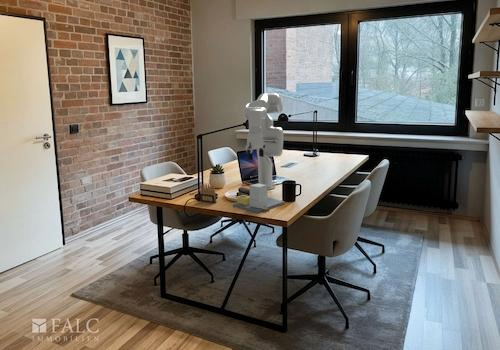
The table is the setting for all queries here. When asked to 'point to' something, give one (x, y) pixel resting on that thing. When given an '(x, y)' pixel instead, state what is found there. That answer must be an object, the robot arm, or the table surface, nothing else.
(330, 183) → the table surface
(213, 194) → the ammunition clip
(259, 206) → the supplement box
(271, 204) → the board
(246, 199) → the stud finder
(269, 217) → the table surface
